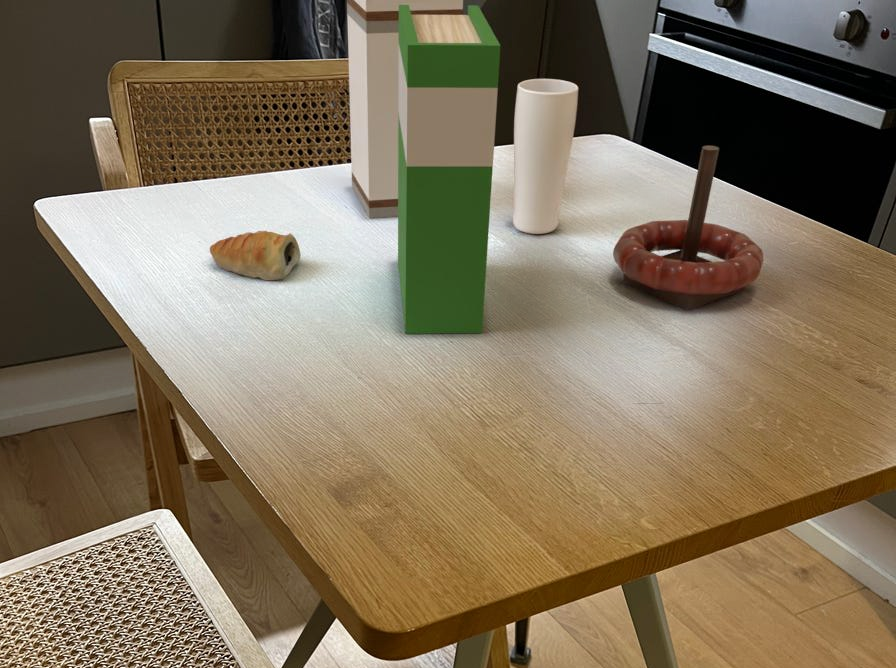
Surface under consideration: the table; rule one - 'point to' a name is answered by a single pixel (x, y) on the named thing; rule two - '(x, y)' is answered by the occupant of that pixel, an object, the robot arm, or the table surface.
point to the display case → (379, 96)
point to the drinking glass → (542, 151)
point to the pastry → (257, 254)
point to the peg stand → (692, 235)
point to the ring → (684, 275)
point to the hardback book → (445, 167)
